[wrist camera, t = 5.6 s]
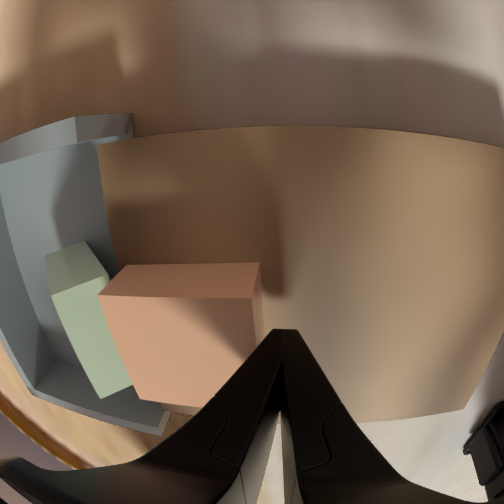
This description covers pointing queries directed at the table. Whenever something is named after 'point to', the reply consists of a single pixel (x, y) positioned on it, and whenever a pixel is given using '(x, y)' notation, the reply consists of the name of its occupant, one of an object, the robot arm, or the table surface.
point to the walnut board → (335, 246)
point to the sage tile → (86, 315)
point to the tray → (50, 240)
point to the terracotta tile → (184, 326)
